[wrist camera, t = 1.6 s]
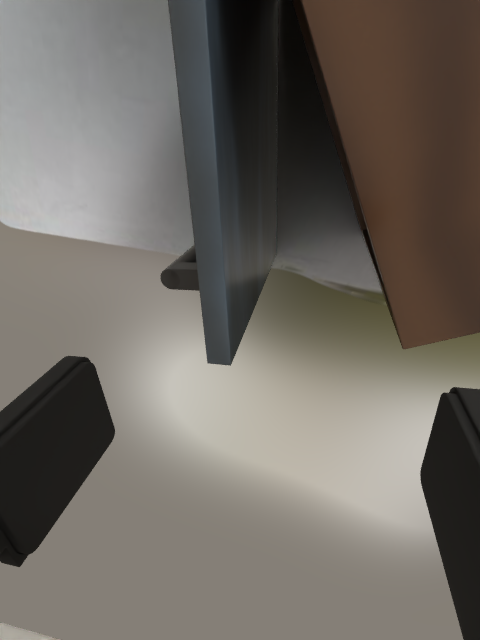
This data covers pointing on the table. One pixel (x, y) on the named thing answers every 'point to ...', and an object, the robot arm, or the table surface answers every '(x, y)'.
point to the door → (227, 159)
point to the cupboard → (408, 148)
